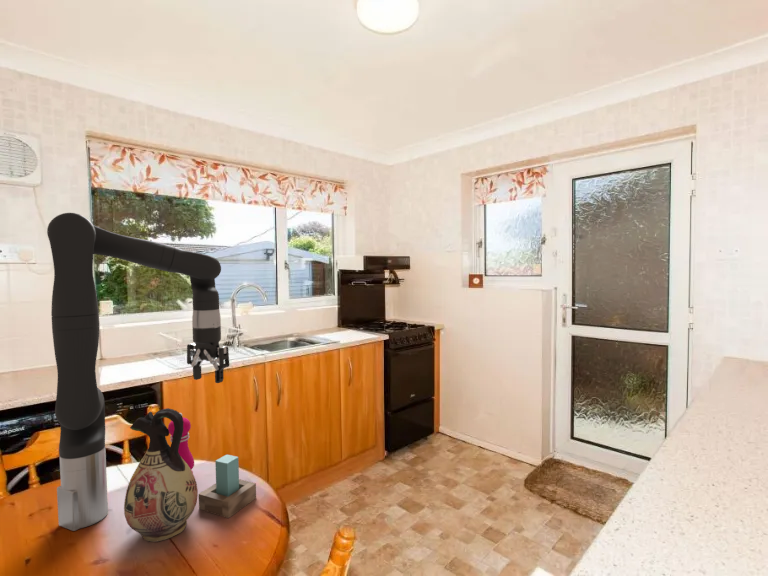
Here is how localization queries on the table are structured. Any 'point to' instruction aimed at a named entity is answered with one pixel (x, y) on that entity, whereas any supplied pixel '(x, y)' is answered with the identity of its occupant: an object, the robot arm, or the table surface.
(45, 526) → the table surface
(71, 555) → the table surface
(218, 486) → the peg
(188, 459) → the pepper mill
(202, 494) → the socket block
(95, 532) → the table surface
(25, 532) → the table surface
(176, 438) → the ceramic jug
